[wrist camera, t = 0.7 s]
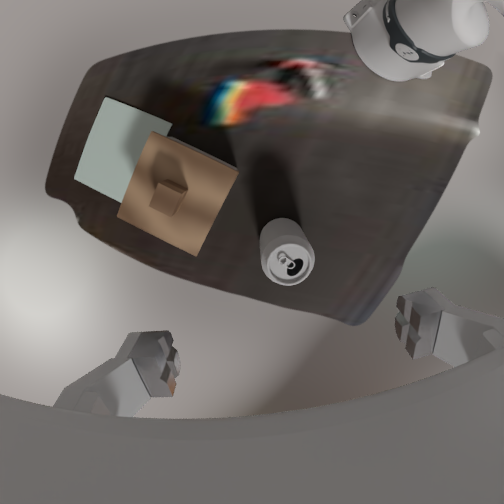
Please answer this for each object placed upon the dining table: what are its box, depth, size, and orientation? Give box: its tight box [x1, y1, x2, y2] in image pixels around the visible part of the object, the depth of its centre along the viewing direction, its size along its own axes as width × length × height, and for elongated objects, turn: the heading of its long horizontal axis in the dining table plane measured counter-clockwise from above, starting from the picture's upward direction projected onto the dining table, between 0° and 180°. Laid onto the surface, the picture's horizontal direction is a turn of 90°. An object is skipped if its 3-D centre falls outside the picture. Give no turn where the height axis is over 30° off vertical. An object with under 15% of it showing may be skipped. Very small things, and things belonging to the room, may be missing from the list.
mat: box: [74, 97, 172, 203], centre depth 45 cm, size 16×14×1 cm
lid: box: [117, 131, 239, 256], centre depth 36 cm, size 13×13×5 cm
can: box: [260, 218, 315, 286], centre depth 45 cm, size 8×8×12 cm
